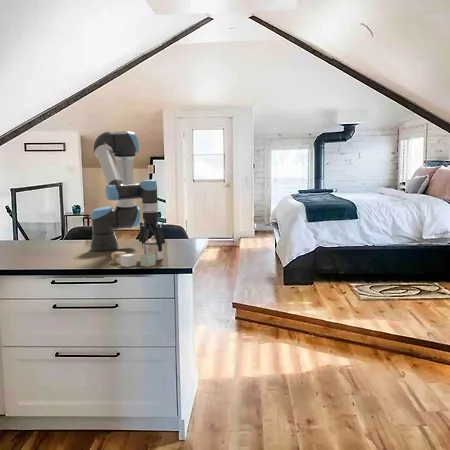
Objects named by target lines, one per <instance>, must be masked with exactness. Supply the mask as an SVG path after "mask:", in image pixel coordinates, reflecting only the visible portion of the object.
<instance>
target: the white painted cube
mask: <svg viewBox="0 0 450 450" xmlns="http://www.w3.org/2000/svg"><path fill="white" fill-rule="evenodd" d="M136 256H137V255H136V254H132V253H126V254H125V255H121V264H120V265H121V267H126V268H130V267H134V266H136V265H137V260H136V258H137V257H136Z"/></svg>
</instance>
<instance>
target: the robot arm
mask: <svg viewBox="0 0 450 450" xmlns="http://www.w3.org/2000/svg"><path fill="white" fill-rule="evenodd" d="M139 149H140V145H139V140H138V137H137V135H136V133H135V132H134V131H127V130H126V131H104V132H102V133H100V134H99V135H98V136H97V137H96V139H95V141H94V143H93V153H94V156H95V157H96V158H97V159H98V161H99V164H100V167H101V169H102V170H101V171H102V173H103V176H104V179H105V181H106V183H107V185H106V186H105V197H106V199H107V200H108V201H117V203H116V204H115V208H113V206H111V205H110V206H109V205H108V206H103V207H102V206H101V207H97V208H95V209H93V210H92V211H91V213H90V214H91V216H90V217H91V228H92V239H91V242H90V248H89V249H90V251H92V252H109V251H114V250H117V249H119V244H118V241H117V238H116V236H115V230H121V229H132V228H137V227H138V226H139V236H138V237H139V238H138V242H141V244H142V250H143V251H142V252H143V254H142V255H144V254H146V250H145V241H147V240H149V235H150V232H151V233H152V234H153V236H154V237H155V239H156V242H157V245H156V253H157V258H162V244H163V245H164V244H166V240H165V235H164V230H163V229H164V228H163V223H159V222H158V219H159V212H158V211H159V206H158V205H159V204H158V202H159V201H158V185H157V180H155V179H143V180H141V181H140V182H139V183H134V159H135V158H136V154H137V153H138V152H139V151H140V150H139ZM115 159H116V160H115ZM136 199H141V204H142V207H141V208H142V213H141V208H140V207H139V206H138V204H137V203H136V202H135V200H136ZM141 214H142V220H143V222H141Z"/></svg>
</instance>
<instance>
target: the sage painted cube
mask: <svg viewBox="0 0 450 450" xmlns="http://www.w3.org/2000/svg"><path fill="white" fill-rule="evenodd" d="M139 260H140V261H139V262H140V266H142V267H146V268H148V267H152V266H155V265H157V264H156V262H157V261H155V254H141V255H139Z"/></svg>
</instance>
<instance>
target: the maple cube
mask: <svg viewBox="0 0 450 450" xmlns="http://www.w3.org/2000/svg"><path fill="white" fill-rule="evenodd" d="M125 254H127V252H126V251H115V252H112V253H110V255H111V264H115V263H116V265H121V255H125Z"/></svg>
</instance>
